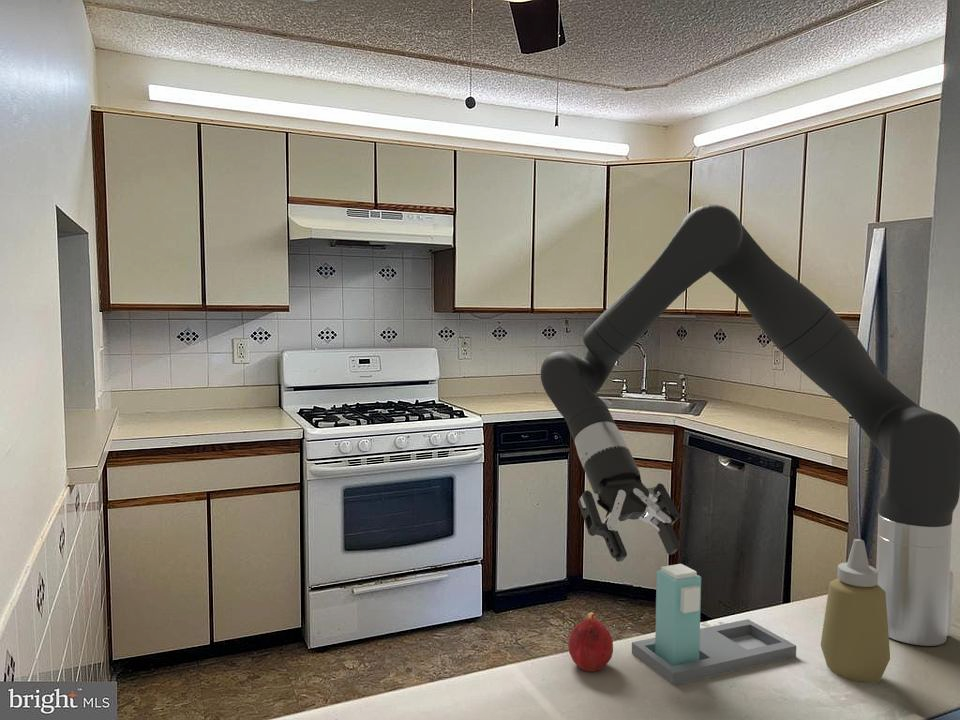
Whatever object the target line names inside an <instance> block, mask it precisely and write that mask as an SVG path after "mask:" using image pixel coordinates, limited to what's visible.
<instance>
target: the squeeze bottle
mask: <svg viewBox="0 0 960 720" xmlns="http://www.w3.org/2000/svg"><path fill="white" fill-rule="evenodd" d="M827 591H828V592H827V598H826V605H825V612H824V619H823V625H822V626H823V627H822V631H821V639H820V647H821V651H822V655H823V656H824V657H823V658H824V660H825V663H826V666H827V667H828V668H827V669H829V670H830V671H831V672H833V674H836V675H838V676H840V677H842V678H845V679H847V680H851V681H856V682H865V683H866V682H867V683H871V682H874V683H875V684H879V683H881V680H882V677H883V675H884V673H885V672H886V668H887V666H888V664H889V663H890V660H891V648H890V647H891V646H890V638H889V633H888V619H887V605H886V592H885V591H884V590H883V589H882V588H881V587H880V586H879V585H878V570H876V568H875V567H873V566H872V565H869V559H868V555H867V549H866V544H865V541H864V540H863V539H860V538H854V539H853V542H852V546H851V549H850V552H849V556H848V559H847V562H841V563H839V564H838V565H837V578H835V579H833V580H831V581H830V582H829V586H828V590H827Z"/></svg>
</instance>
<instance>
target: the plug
mask: <svg viewBox="0 0 960 720" xmlns="http://www.w3.org/2000/svg"><path fill="white" fill-rule="evenodd" d="M655 585H656V587H655V588H656V589H655V590H656V592H655V593H656V594H655V596H656V597H655V636H654V638H655V654H656V655H658V656H659V657H660V658H662V659H663V660H665V661H666V662H667V663H669V664H670V665H671V666H676V665H680V664H685V663H689V662H694V661H699V650H700V629H701V601H702V576H700V575H698V572H697V570H695V569H692V568H690V567H689V566H687V565H685V564H683V563H678V564H676V563H675V564H670V565H664V566H660V569H659V570H656V584H655Z"/></svg>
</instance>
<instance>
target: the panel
mask: <svg viewBox="0 0 960 720" xmlns="http://www.w3.org/2000/svg"><path fill="white" fill-rule="evenodd" d="M631 654H632V655H633V656H634V657H635V658H637V659H638V660H639V661H641V662H642V663H643V664H644V665H645V666H647V667H649V668H650V669H651V670H653V671H654V672H655V673H656V674H658V675H659V676H660V677H662V678H663V679H664V680H666V682H668V683H669V684H670V685H672V686H676V685H677V686H678V685H681V684H684V683H691V682H693V681H694V682H695V681H698V680H703V679H706V678H711V677H715V676H720V675H723V674H728V673H732V672H737V671H742V670H746V669H750V668H753V667H758V666H762V665H768V664H770V663H771V664H772V663H776V662H780V661H785V660H788V659H792V658H797V645H796V644H794V643H793V642H790V641H789V640H786V639H785V638H783V637H782V636H780V635H778V634H776V633H774V632H772V631H771V630H769V629H767V628H765V627H763V626H762V625H759V624H758V623H755V622H754V621H752V620H750V619H748V618H747V619H743V620H737V621H733V622H727V623H722V624H717V625H713V626H712V625H711V626H708V627H707V626H706V627H702V628H701V627H700V650H699V661H694V662H689V663H685V664H680V665H676V666H671V665H670V664H669V663H667V662H666V661H665V660H663V659H662V658H660V657H659V656H658V655H656V654H655V637H650V638H647V639H643V640H642V639H641V640H637V641H632V642H631Z"/></svg>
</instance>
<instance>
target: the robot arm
mask: <svg viewBox="0 0 960 720" xmlns="http://www.w3.org/2000/svg"><path fill="white" fill-rule="evenodd" d="M709 273H712V275H714V276H715V278H718V280H719V281H721V282H722V283H723V284H724V285H725V286H727V287H728V288H729V289H730V290H731V291H732V292H733V293H734V294H735V296H737V298H738V299H739V300H740V301H741V303H742V304H743V306H744V307H745V308H746V310H747V311H748V313H749V314H750V315H751V317H752V319H754V321H755V322H756V324H757V325H758V326H759V327H760V329H761V330H762V331H763V333H764V334H765V335H766V336H767V338H768V339H769V340H770V341H771V342H772V343H773V345H774V346H775V347H776V348H777V349H778V350H779V351H780V352H781V353H782V354H783V355H785V357H786V358H787V359H788V360H789V361H791V363H792V364H793V365H794V366H795V367H796V368H798V369H799V370H800V371H801V372H802V373H803V374H804V375H806V376H807V378H808V379H810V380H811V381H812V382H813V383H814V384H815V385H817V386H818V388H820V389H822V391H823V392H825V393H827V394H828V396H830V397H831V398H833V399H834V400H835V401H836V402H837V403H839V405H841V406H842V407H843V408H844V409H845V411H847V413H848V414H849V415H851V417H852V418H853V420H854V421H855V422H856V423H857V424H858V426H860V428H861V429H862V430H863V432H864V433H865V434H866V435H867V437H868V438H869V439H870V440H871V442H872V443H873V444H874V446H875V447H876V448H877V449H878V451H879V452H880V454H881V455H882V456H883V457H884V458H885V459H887V460H888V474H887V486H886V489H885V491H884V492H883V493H882V494H881V495H880V496H879V499H878V515H877V516H878V517H877V540H876V541H877V542H876V563H875V564H876V566H875V567H876V568H875V569H876V570H878V585H879V586H880V587H881V588H882V589H883V590H884V591H885V592H886V605H887V619H888V633H889V639H892V640H895V641H898V642H902V643H906V644H910V645H915V646H924V647H925V646H926V647H928V646H929V647H933V646H941V645H943V644H944V643H945V644H946V641H947V638H948V636H949V637H950V636H951V631H952V629H951V628H952V609H953V608H952V607H953V590H954V589H953V588H954V573H953V571H952V570H951V555H952V554H951V552H952V533H953V532H952V530H953V514H954V511H955V509H956V507H957V505H958V502H959V499H960V430H959V428H958V427H957V425H956V424H955V423H954V422H953V421H952V420H951V419H949V418H948V417H947V416H945V415H942V414H940V413H938V412H935V411H931V410H928V409H926V408H923V407H921V406H920V405H919V404H917V403H916V402H915V401H914V400H912V398H911V399H910V398H909V397H908V396H907V395H905V394H904V393H903V392H902V391H901V390H900V389H899V388H897V387H896V386H895V385H894V384H893V383H892V382H890V381H889V380H888V378H886V376H885V375H884V374H883V373H882V372H881V371H880V370H879V368H878V367H877V366H876V364H875V363H874V361H873V359H872V358H871V356H870V354H869V353H868V351H867V350H866V348H865V346H864V345H863V344H862V341H860V339H859V337H858V336H857V335H856V333H854V331H853V330H852V329H851V328H850V326H849V325H848V324H846V322H845V321H843V319H841V317H840V316H839V315H838V314H837V313H836V312H835V311H834V310H832V309H831V307H829V305H828V304H826V303H825V301H823V300H822V299H821V298H820V297H818V296H817V295H816V294H815V293H814V292H813V291H811V289H809V288H808V287H807V286H805V284H803V283H801V281H799V280H798V279H796V278H795V277H794V276H792V274H790V273H788V271H786V270H785V269H783V268H782V267H781V266H779V265H778V264H777V263H776V262H775V261H774V260H773V259H772V258H770V256H769V255H768V254H767V253H766V252H765V250H763V249H762V247H761V246H760V245H759V244H758V243H757V242H756V240H755V239H754V238H753V236H751V234H750V232H748V231H747V229H746V228H745V226H744V225H743V223H742V222H741V220H740V219H739V217H738V216H737V215H736V214H735V213H734V211H732V210H731V209H729V208H727V207H725V206H723V205H719V204H705V205H702V206H699V207H696V208H694V209H693V210H691V211H690V212H689V213H688V214H686V215H685V217H684V218H683V220H682V221H681V224H680V226H679V228H678V229H677V231H676V232H675V234H674V235H673V237H672V238H671V239H670V241H669V242H668V244H667V245H666V246H665V248H664V250H663V251H662V252H661V253H660V255H658V257H657V259H656V260H655V261H654V262H653V263H652V264H651V265H650V266H649V268H647V270H646V271H645V272H644V273H643V274H642V275H641V276H640V277H639V278H638V279H637V280H636V281H635V282H634V283H633V284H632V285H631V286H629V287H628V288H627V289H626V290H625V291H624V292H623V293H622V294H621V295H620V296H619V297H618V298H617V299H616V300H614V301H613V302H612V303H611V304H610V305H609V306H608V307H607V308H606V310H604V311H603V312H602V313H601V314H600V315H599V317H598V318H596V320H595V321H593V322H592V324H590V326H588V328H587V329H586V330H585V332H584V334H583V336H582V340H583V343H584V345H585V347H586V349H587V351H586V353H585V354H584V356H583V357H582V358H580V357H578V356H576V355H574V354H571V353H570V352H565V351H561V350H560V351H554V352H551V353H550V354H549V355H548V356H546V357H545V358H544V360H543V362H542V363H541V367H540V381H541V385H542V387H543V389H544V391H545V393H546V395H547V397H548V398H549V400H551V402H552V404H553V405H554V407H555V408H556V410H557V411H558V412H559V414H560V415H561V416H562V417H563V419H564V420H565V421H566V425H567V427H568V430H569V432H570V435H571V437H572V440H573V441H574V444H575V448H576V452H577V453H576V454H577V455H578V459H579V460H580V463H581V465H582V469H583V471H584V473H585V476H586V478H587V480H588V482H589V485H590V488H591V490H592V492H593V493H592V492H591V491H590V490H585V491H584V492H583V493H582V495H581V496H580V497H579V500H578V501H577V503H578V506H579V510H580V512H581V515H582V517H583V521H584V524H585V527H586V529H587V533H588V535H589V536H591V537H594V536H600V537H601V538H603V539H604V541H605V543H606V547H607V549H608V551H609V553H610V556H611V557H612V558H613V559H615V561H616V562H617V563H618V562H619V563H620V562H623V561H624V560H625V559H626V558H627V555H628V553H627V549H626V547H625V545H624V542H623V541H622V538H621V536H620V533H619V531H618V530H615V529H616V527H617V523H618V521H619V522H625V521H627V520H633V521H635V520H639V519H640V520H641V521H642V522H643V523H645V524H650V525H651V526H652V527H653V528H655V529H656V530H658V531H657V534H658V536H659V538H660V540H661V543H662V545H663V546H664V549H665V551H666V553H667V554H668V555H675V553H676V552H677V551H678V550H679V549H680V548H679V546H680V540H679V539H678V536H677V533H676V532H675V530H674V528H673V525H674V524H675V522H676V521H677V520H678V519H679V518H680V516H681V515H680V513H679V510H678V509H677V507H676V506H675V504H674V501H673V500H672V498H671V496H670V495H669V492H668V491H667V488H666V487H665V485H664V484H663V483H659V482H658V483H657V484H656V485H655V486H654V487H648V488H647V486H645V485H644V483H643V482H642V477H641V472H640V470H639V468H638V466H637V464H636V462H635V460H634V456H633V455H632V453H631V451H630V448H629V446H628V444H627V441H626V440H625V438H624V436H623V435H622V433H621V431H620V429H619V428H618V426H617V424H616V422H615V420H614V419H613V416H612V413H611V412H610V410H609V408H608V406H607V404H606V403H605V401H604V400H603V399H602V398H600V397H599V396H598V395H597V393H598V392H599V391H600V390H601V388H602V387H603V385H604V384H605V381H607V379H608V377H609V376H610V374H611V372H612V371H613V369H614V367H615V365H616V363H617V362H618V360H619V359H620V358H621V357H622V356H623V355H624V354H625V353H626V352H627V351H628V350H630V348H631V347H632V346H633V345H634V344H635V343H636V342H637V341H639V340H640V339H641V338H642V336H643V335H644V334H645V333H646V332H647V331H649V330H648V329H650V328H651V326H652V325H653V324H654V323H655V322H656V321H657V320H658V319H659V317H660V316H661V315H662V314H663V313H664V312H665V311H666V310H667V309H668V308H669V307H670V305H672V303H673V302H674V301H675V300H677V299H678V298H679V296H681V295H682V294H683V293H684V292H685V291H686V290H688V289H689V288H690V287H691V286H693V284H694V283H696V282H697V281H699V280H701V278H703V277H704V276H706V275H707V274H709ZM597 506H599V507H601V508H602V509H603V510H604V511H605V516H604V517H603V518H604V519H603V522H602V519H601V516H600V513H599V511H598V510H599V509H598V508H597ZM647 509H648V510H649V512H646V511H647Z"/></svg>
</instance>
